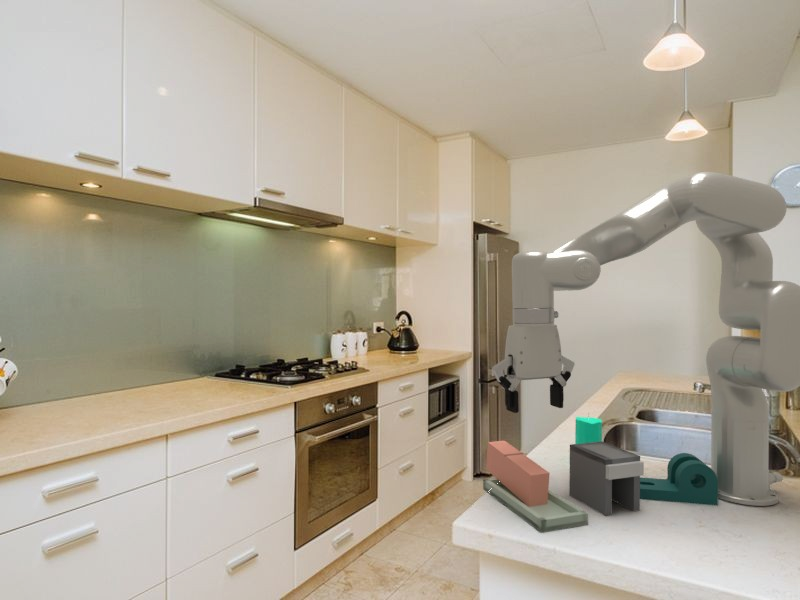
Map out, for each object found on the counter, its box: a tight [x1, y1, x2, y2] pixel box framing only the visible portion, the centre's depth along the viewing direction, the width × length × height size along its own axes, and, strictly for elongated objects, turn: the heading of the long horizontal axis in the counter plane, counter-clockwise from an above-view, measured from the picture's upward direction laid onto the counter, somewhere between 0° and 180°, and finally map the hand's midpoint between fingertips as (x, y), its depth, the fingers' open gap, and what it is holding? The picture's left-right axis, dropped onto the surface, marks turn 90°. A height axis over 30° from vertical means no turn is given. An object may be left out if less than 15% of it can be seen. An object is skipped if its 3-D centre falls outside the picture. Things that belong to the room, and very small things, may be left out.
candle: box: [574, 412, 603, 444], centre depth 119 cm, size 6×6×12 cm
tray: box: [482, 477, 589, 534], centre depth 94 cm, size 9×20×2 cm, turn 19°
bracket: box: [640, 452, 719, 506], centre depth 100 cm, size 18×7×8 cm, turn 79°
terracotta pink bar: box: [485, 440, 550, 507], centre depth 99 cm, size 4×16×6 cm, turn 19°
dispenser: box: [568, 440, 644, 517], centre depth 95 cm, size 11×8×10 cm
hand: (534, 409), depth 94 cm, fingers open, 9 cm apart
